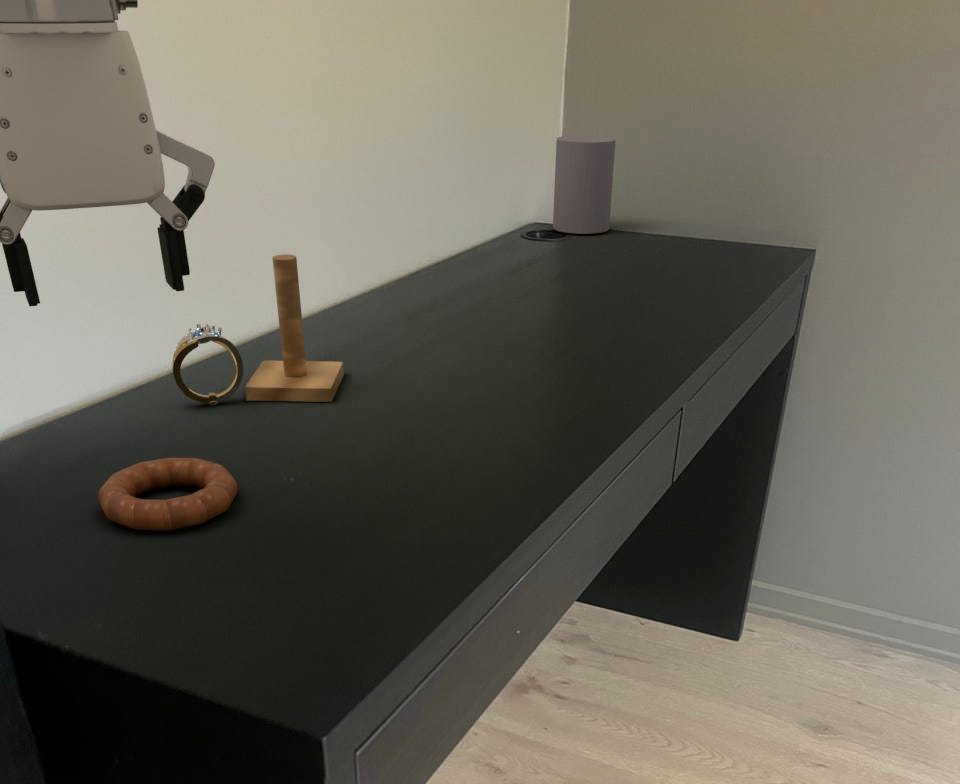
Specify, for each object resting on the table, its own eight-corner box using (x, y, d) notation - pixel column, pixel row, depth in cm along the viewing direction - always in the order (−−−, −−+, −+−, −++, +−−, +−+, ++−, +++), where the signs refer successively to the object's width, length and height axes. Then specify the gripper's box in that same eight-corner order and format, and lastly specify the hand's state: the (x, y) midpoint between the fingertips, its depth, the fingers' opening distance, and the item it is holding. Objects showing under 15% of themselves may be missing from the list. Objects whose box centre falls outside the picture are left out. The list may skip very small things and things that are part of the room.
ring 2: (245, 395, 105) (236, 319, 100) (249, 405, 102) (239, 327, 98) (178, 402, 103) (165, 324, 98) (179, 412, 100) (166, 333, 96)
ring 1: (83, 534, 78) (76, 506, 76) (127, 478, 87) (122, 452, 85) (219, 536, 77) (215, 508, 76) (250, 480, 86) (246, 454, 85)
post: (246, 400, 103) (229, 266, 96) (264, 373, 111) (249, 246, 103) (331, 402, 103) (321, 267, 96) (344, 374, 111) (335, 247, 103)
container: (619, 229, 182) (626, 138, 174) (590, 238, 175) (596, 144, 167) (571, 222, 187) (576, 133, 179) (541, 230, 180) (545, 139, 172)
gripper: (180, 4, 66) (216, 271, 75) (-110, 3, 60) (-31, 295, 69) (205, 5, 60) (241, 293, 70) (-111, 4, 54) (-26, 321, 63)
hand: (106, 294), depth 69 cm, fingers open, 9 cm apart
